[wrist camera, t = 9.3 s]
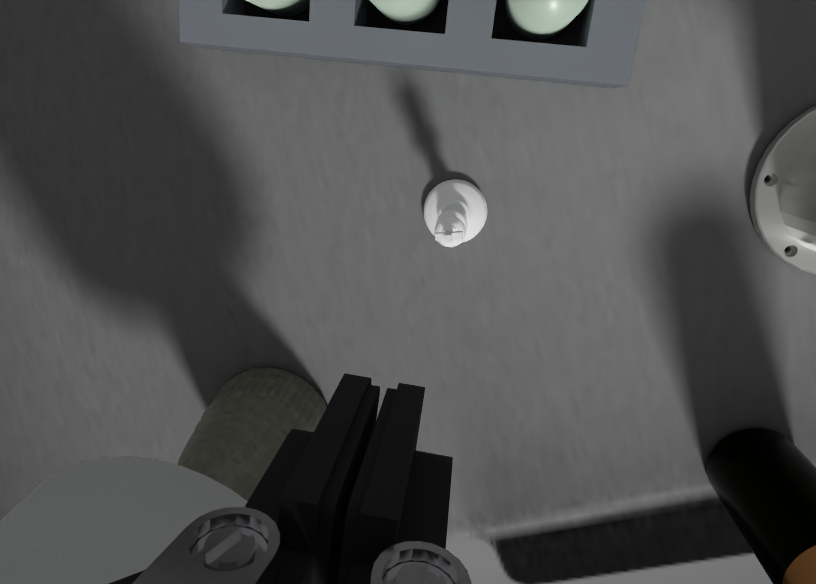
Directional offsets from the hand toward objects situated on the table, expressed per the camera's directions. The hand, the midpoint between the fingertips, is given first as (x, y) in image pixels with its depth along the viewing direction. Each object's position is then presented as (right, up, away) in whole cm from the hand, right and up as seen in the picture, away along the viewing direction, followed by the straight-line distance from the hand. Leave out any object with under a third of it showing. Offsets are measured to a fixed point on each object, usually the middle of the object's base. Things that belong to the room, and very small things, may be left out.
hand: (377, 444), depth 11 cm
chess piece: (+4, +9, +32) cm, 34 cm away
